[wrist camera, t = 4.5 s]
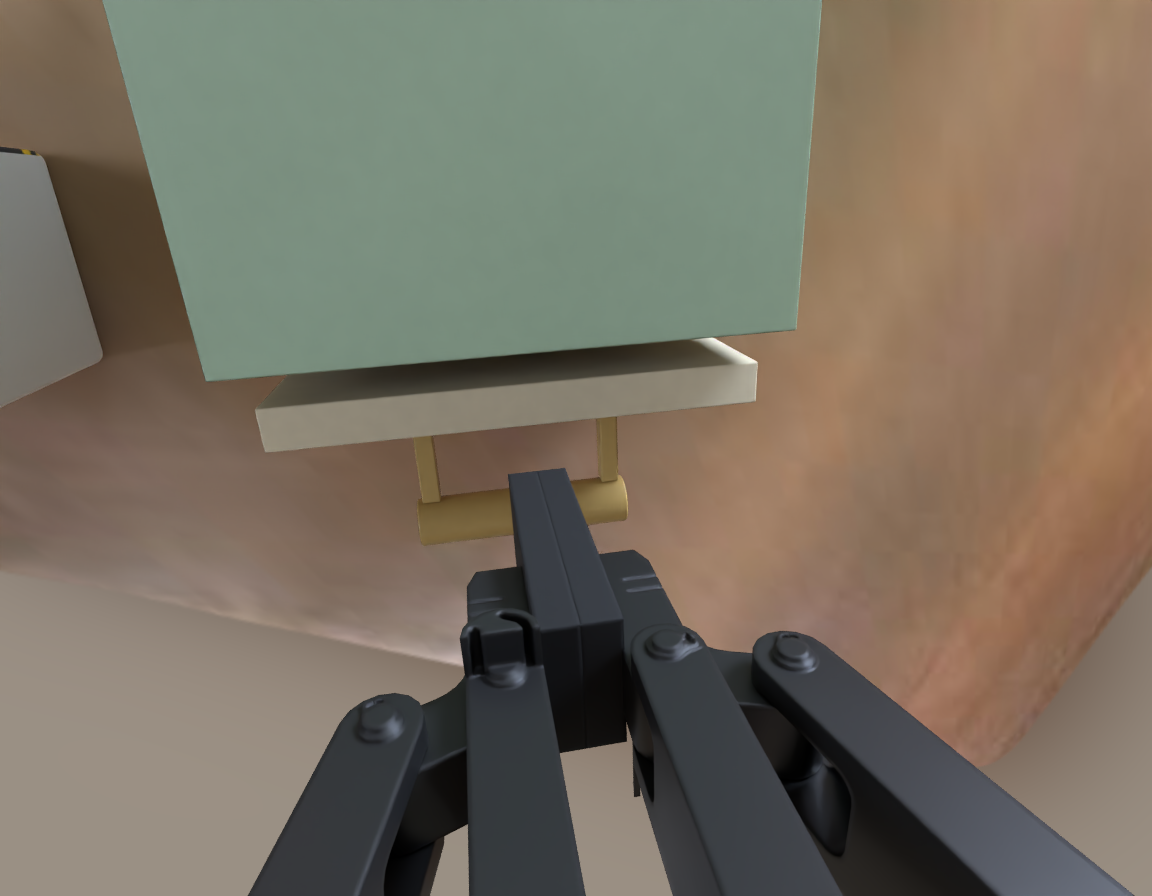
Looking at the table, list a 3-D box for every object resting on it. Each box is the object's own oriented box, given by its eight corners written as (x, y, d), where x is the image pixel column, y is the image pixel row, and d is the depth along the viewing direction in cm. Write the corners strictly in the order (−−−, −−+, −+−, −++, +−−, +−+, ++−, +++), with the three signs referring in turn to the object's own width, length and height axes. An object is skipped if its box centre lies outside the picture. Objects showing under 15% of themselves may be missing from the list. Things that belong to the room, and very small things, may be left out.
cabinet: (672, 281, 27) (797, 330, 17) (303, 309, 25) (204, 382, 15) (675, -252, 21) (874, -657, 11) (184, -276, 18) (-118, -803, 9)
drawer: (664, 452, 28) (747, 553, 20) (350, 487, 27) (304, 615, 18) (665, -135, 21) (799, -346, 13) (225, -144, 19) (54, -398, 11)
